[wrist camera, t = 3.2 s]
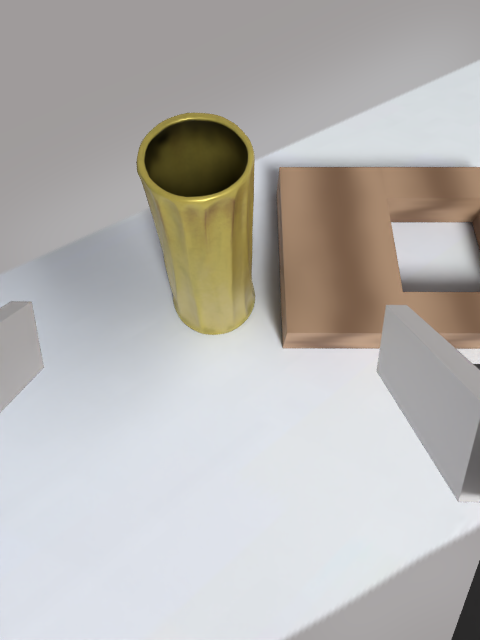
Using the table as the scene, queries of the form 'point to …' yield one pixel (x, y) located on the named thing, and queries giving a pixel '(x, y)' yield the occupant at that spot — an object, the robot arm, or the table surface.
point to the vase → (203, 216)
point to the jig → (366, 251)
